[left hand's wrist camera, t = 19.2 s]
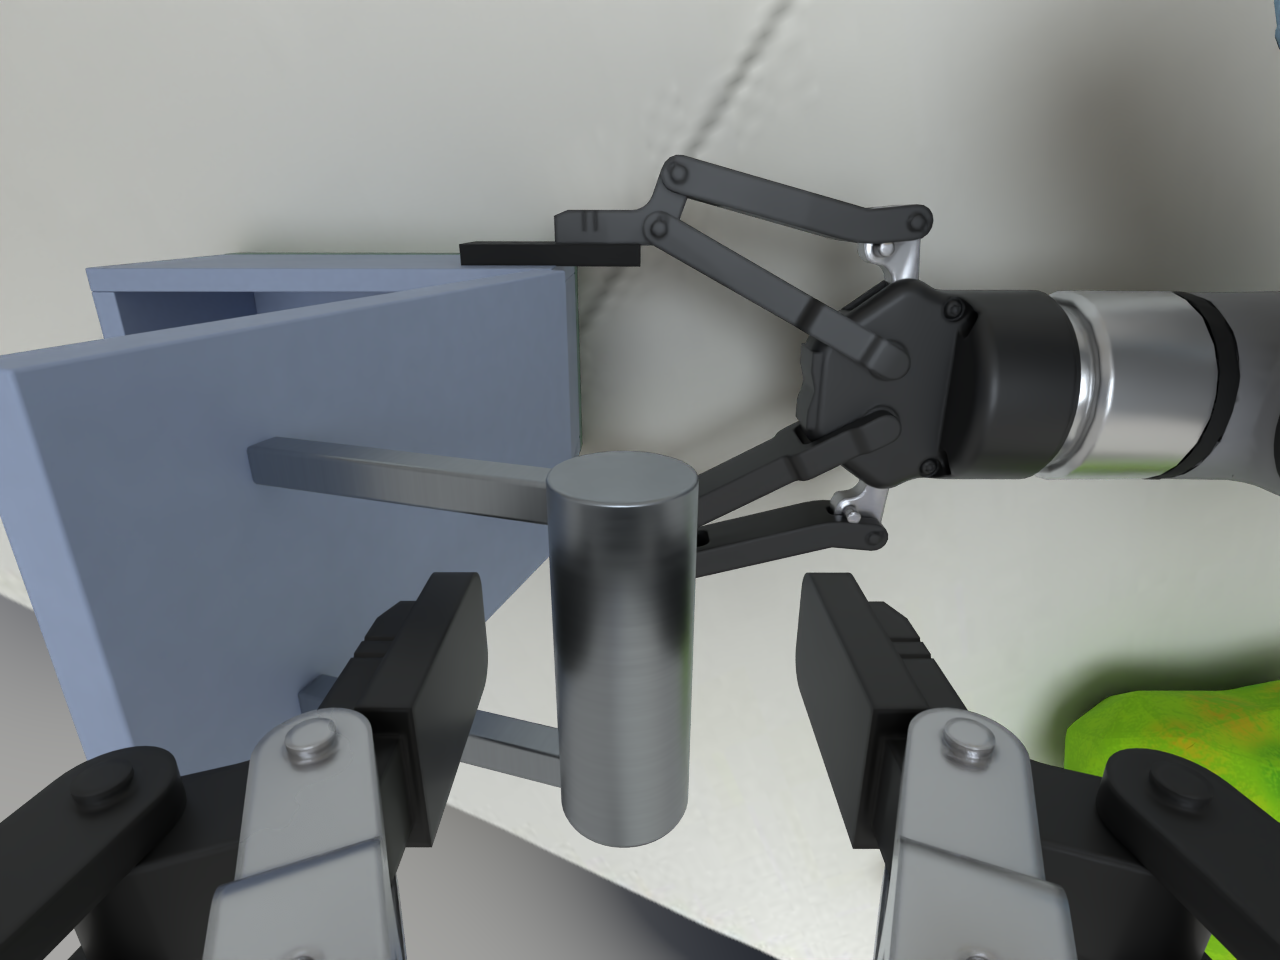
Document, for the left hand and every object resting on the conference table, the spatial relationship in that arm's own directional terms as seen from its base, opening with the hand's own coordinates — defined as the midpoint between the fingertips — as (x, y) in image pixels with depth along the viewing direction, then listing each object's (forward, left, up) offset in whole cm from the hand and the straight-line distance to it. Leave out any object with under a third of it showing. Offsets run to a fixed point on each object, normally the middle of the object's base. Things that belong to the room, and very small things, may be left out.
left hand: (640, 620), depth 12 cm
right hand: (-6, +1, -17) cm, 19 cm away
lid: (-6, +1, -6) cm, 9 cm away
